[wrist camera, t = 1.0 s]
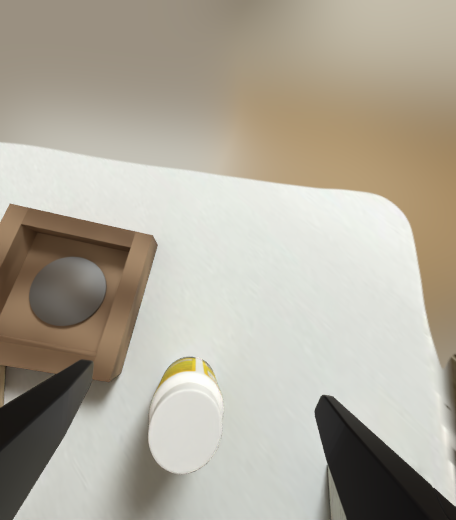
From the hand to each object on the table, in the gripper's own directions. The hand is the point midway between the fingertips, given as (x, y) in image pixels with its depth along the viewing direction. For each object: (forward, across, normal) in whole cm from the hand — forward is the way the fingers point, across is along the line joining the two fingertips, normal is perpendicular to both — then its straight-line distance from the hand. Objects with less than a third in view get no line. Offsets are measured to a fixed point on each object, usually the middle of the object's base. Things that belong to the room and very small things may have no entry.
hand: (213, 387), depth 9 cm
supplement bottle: (+9, 0, +10) cm, 13 cm away
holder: (+13, +12, +4) cm, 18 cm away
